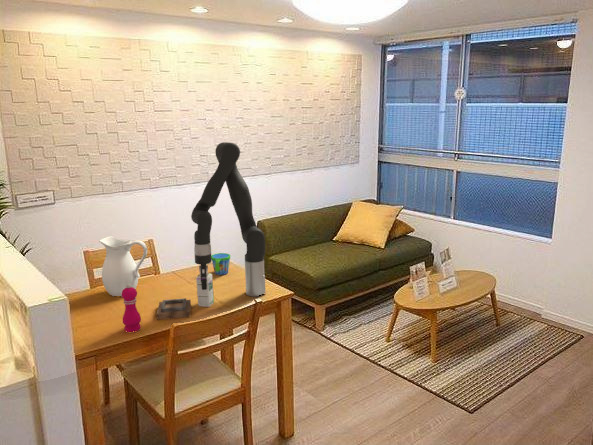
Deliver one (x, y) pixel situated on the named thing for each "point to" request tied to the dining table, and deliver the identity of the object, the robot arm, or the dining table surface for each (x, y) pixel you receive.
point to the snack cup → (221, 263)
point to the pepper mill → (130, 310)
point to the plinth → (174, 309)
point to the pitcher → (120, 265)
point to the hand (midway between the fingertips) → (204, 286)
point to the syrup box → (205, 291)
